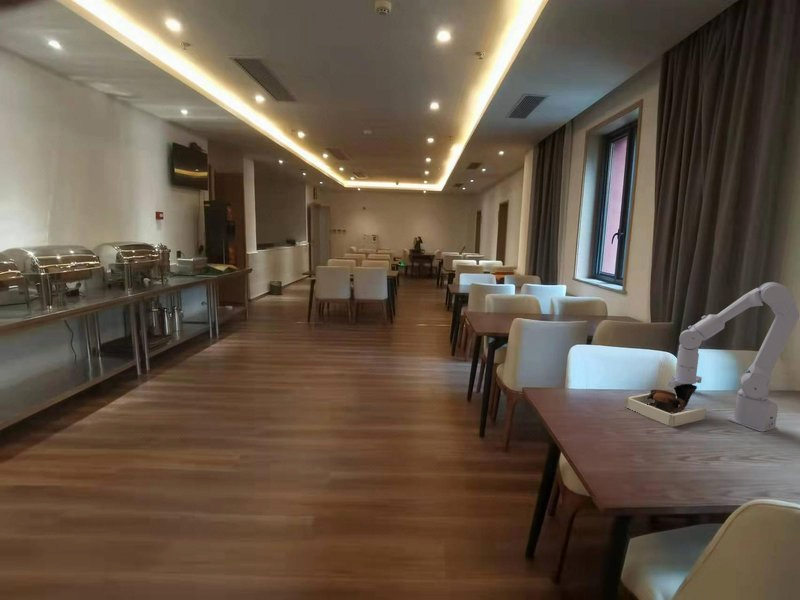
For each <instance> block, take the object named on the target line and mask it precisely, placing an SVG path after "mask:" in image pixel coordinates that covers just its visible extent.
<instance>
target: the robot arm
mask: <svg viewBox="0 0 800 600" xmlns="http://www.w3.org/2000/svg"><path fill="white" fill-rule="evenodd" d="M763 302H764V303H765V304H766V305H768V306H769V307H770V309H771V311H772V312H773V314H775V317H774V319H773V321H772V323H771V326H770V328H769V329H768V330H767V331H768V332H767V333H766V336H765V338H764V340H763V342H762V344H761V346H760V348H759V350H758V352H757V354H756V356H755V358H754V361H753V362H752V363H751V365H750V366H749V367H748V369H747V370H746V371H745V372H744V373H742V374H741V375H740V377H739V383H740V385H741V388H740V389H739V390H737V393H736V401H735V407H734V408H735V409H734V414H733V416H730V417H727V418H726V419H727V420H728V421H730V422H733V423H736V424H738V425H741V426H744V427H747V428H749V429H753V430H756V431H758V432H761V433H762V432H766V431H771V430H775V429H777V426H776V424H777V417H778V411H779V406H778V404H777V402H776V401H775V402H774V401H772V400H771V399H769V396H768V394H769V393H770V386H769V384H770V382H771V379H772V375H773V370H774V368H775V366H776V364H777V362H778V361H779V358H780V356H781V354H782V353H783V351H784V348H785V346H786V344H787V343H788V340H789V338H790V337H791V335H792V333H793V331H794V328H795V327H796V324H797V322H798V321H799V318H800V311H799V309H798V306H797V303H796V300H795V295H794V294H793V293H792V291H790V290H789V288H788V287H786V286H785V285H784V284H780V283H779V282H776V281H768V282H764V283H763V284H761V285H760V286H759V287H755V288H754V289H752V290H750V291H749V292H746V293H745V294H743V295H742V296H741V297H739V298H738V299H736V300H735V301H733V302H732V303H731V304H730V305H728V306H727V307H726V308H724V309H722V310H721V311H720V312H719V313H717V314H710V313H709V314H708V315H703V316H701V319H700V320H699V321H698V322H696V323H695V324H693V325H691V324H690V325H689V326H688V327H687V328H688V329H685V330H683V331H682V332H680V335H679V338H678V340H679V345H678V351H677V357H676V358H677V359H676V364H677V365H676V366H675V373H674V374H672V375H671V379H669V380H668V381H667V382H668V383H667V386H668V387H669V388H672V387H673V388H674V389H673V388H672V389H673V390H674V393H675V394H676V398H680V399H682V400H684V401H685V404H686V407H687V406H688V404H689V401H690V399H691V397H692V395H693V393H694V392H696V390H697V389H698V386H697V385H695V384H700V383H702V379H703V377H702V376H699V375H697V374H698V373H697V372H698V364H699V359H700V357H699V356H700V353H699V348H700V346H701V345H702V342H703V341H707V340H708V339H710V338H712V337H713V336H715V335H717V334H718V333H719V332H721V331H722V330H724V329H725V327H726V326H725V324H726V323H727V322H728V321H729V320H731V319H733V318H735V317H736V316H737V315H740V314H742V313H743V312H745V311H746V310H748V309H749V308H753V307H762V306H764V304H763ZM679 406H680V403H679Z"/></svg>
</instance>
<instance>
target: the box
mask: <svg viewBox="0 0 800 600" xmlns="http://www.w3.org/2000/svg"><path fill="white" fill-rule="evenodd" d="M650 393H651V392H649V393H644V394H638V395H632V396H626V397H625V401H624V408H625V407H626V408H625V409H627V408H629V409H631V410H630V411H632V410H633V411H632V412H634V411H636V412H635V413H637V412H638V413H637V414H639V413H640V414H639V415H642V416H644V417H647V418H649V419H652V420H654V421H657V422H658V423H661V424H664V425H665V426H666V425H667V426H669V427H671V428H673V427H678V426H681V425H686V424H689V423H694V422H698V421H703V420H705V419H706V418H705V417H706V411H707V409H706V407H698V408H693V409H689V410H685V411H684V410H683V411H681V412H678V413H675V414H673V413H671V414H670V413H668V412H665V411H662V410H660V409H657V408H655V407H652V406H653V405H650V404H648V403H653V402H655V400H652V399H650V398H649V399H647V398H648V395H649V394H650ZM647 404H648V405H647ZM653 404H654V403H653ZM629 409H628V410H629Z"/></svg>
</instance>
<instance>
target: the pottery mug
mask: <svg viewBox="0 0 800 600" xmlns="http://www.w3.org/2000/svg"><path fill="white" fill-rule="evenodd" d="M649 393H650V394H649V395H648V398H647V399H649V398H650V399H652V400H655V403H654V404H655V405H651V406H652V407H655V408H657V409H660V410H662V411H665V412H668V413H670V414H675V413H680V412H684V410H685V408H686V407H687V406H686V404H685V401H684V400H682V399H680V398H677V396H676V393H675V392H671V391H669V390H668V391H667V390H663V389H651V390H650V392H649ZM679 403H680V405H679Z"/></svg>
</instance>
